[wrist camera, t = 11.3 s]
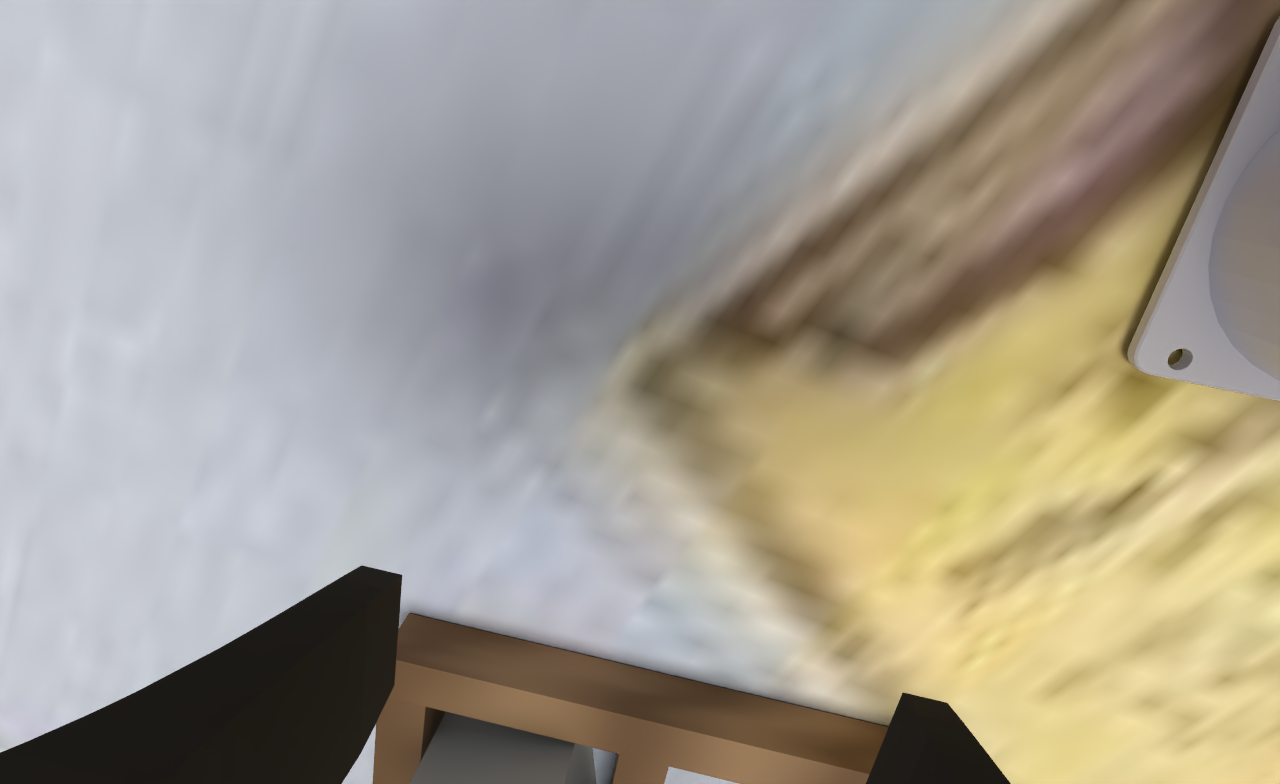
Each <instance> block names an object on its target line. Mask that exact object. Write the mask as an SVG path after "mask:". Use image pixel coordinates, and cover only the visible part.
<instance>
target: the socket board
mask: <svg viewBox="0 0 1280 784" xmlns="http://www.w3.org/2000/svg"><path fill="white" fill-rule="evenodd" d="M445 711H446V712H450V713H454V714H458V715H462V716H466V717H470V718H474V719H479V720H483V721H487V722H491V723H495V724H499V725H503V726H507V727H511V728H515V729H519V730H523V731H528V732H532V733H536V734H540V735H544V736H548V737H552V738H556V739H560V740H564V741H568V742H572V743H576V744H581V745H585V746H589V747H593V748H597V749H601V750H605V751H609V752H613V753H617V758H616V762H615V766H614V771H613V775H612V780H611V784H664V782H665V778H666V774H667V771H668V767H669V766H670V767H674V768H678V769H683V770H687V771H691V772H695V773H699V774H703V775H707V776H711V777H715V778H719V779H723V780H727V781H732V782H736V783H740V784H866V782H867V779H868V777H869V775H870V772H871V770H872V767H873V765H874V762H875V760H876V757H877V755H878V752H879V750H880V747H881V745H882V743H883V740H884V738H885V735H886V733H887V730H888V728H889V727H886V726H881V725H877V724H873V723H869V722H865V721H860V720H856V719H852V718H848V717H843V716H839V715H835V714H831V713H827V712H822V711H818V710H814V709H810V708H806V707H801V706H797V705H793V704H789V703H785V702H780V701H776V700H772V699H768V698H764V697H759V696H755V695H751V694H747V693H743V692H738V691H734V690H730V689H726V688H722V687H717V686H713V685H709V684H705V683H701V682H696V681H692V680H688V679H684V678H679V677H675V676H671V675H667V674H663V673H658V672H654V671H650V670H646V669H642V668H637V667H633V666H629V665H625V664H621V663H616V662H612V661H608V660H604V659H600V658H595V657H591V656H587V655H583V654H579V653H574V652H570V651H566V650H562V649H558V648H553V647H549V646H545V645H541V644H536V643H532V642H528V641H524V640H520V639H515V638H511V637H507V636H503V635H499V634H494V633H490V632H486V631H482V630H478V629H473V628H469V627H465V626H461V625H457V624H452V623H448V622H444V621H440V620H436V619H431V618H427V617H423V616H419V615H415V614H410V613H409V615H408V616H407V618H406V619H405V621H404V622H403V624H402V625H401V627H400V628H399V629H398V641H397V656H396V670H395V685H394V687H393V689H392V691H391V693H390V696H389V698H388V700H387V702H386V704H385V706H384V708H383V710H382V712H381V714H380V716H379V718H378V720H377V722H376V738H375V755H374V772H373V784H410V782H411V780H412V778H413V776H414V774H415V772H416V770H417V768H418V766H419V764H420V762H421V760H422V758H423V756H424V754H425V752H426V750H427V748H428V746H429V744H430V742H431V740H432V738H433V736H434V734H435V732H436V730H437V728H438V727H439V725H440V723H441V721H442V719H443V717H444V715H445Z"/></svg>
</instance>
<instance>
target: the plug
mask: <svg viewBox="0 0 1280 784" xmlns="http://www.w3.org/2000/svg"><path fill="white" fill-rule="evenodd" d="M410 784H596V776H595V767H594V758H593V749H592V747H589V746H585V745H581V744H576V743H572V742H568V741H564V740H560V739H556V738H552V737H548V736H544V735H540V734H536V733H532V732H528V731H523V730H519V729H515V728H511V727H507V726H503V725H499V724H495V723H491V722H487V721H483V720H479V719H474V718H470V717H466V716H462V715H458V714H454V713H450V712H446V713H445V715H444V717H443V719H442V721H441V723H440V725H439V727H438V728H437V730H436V732H435V734H434V736H433V738H432V740H431V742H430V744H429V746H428V748H427V750H426V752H425V754H424V756H423V758H422V760H421V762H420V764H419V766H418V768H417V770H416V772H415V774H414V776H413V778H412V780H411V782H410Z"/></svg>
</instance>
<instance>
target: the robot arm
mask: <svg viewBox="0 0 1280 784" xmlns="http://www.w3.org/2000/svg"><path fill="white" fill-rule="evenodd" d="M1178 349H1182V351H1183V353H1182V357H1181V358H1180V360H1179V361H1178V362H1176V363H1174V364H1172V365H1168V357H1169V356H1170V355H1171V353H1172V352H1174V351H1176V350H1178ZM1127 355H1128V360H1129V362H1130V363H1131V364H1132V366H1133V367H1135V368H1136V369H1138V370H1140V371H1142V372H1144V373H1147V374H1150V375H1155V376H1160V377H1165V378H1169V379H1174V380H1179V381H1184V382H1189V383H1194V384H1199V385H1203V386H1208V387H1213V388H1218V389H1223V390H1228V391H1233V392H1237V393H1242V394H1247V395H1252V396H1257V397H1262V398H1267V399H1271V400H1276V401H1280V17H1279V18H1278V20H1277V21H1276V23H1275V25H1274V27H1273V29H1272V31H1271V33H1270V36H1269V38H1268V40H1267V42H1266V44H1265V47H1264V49H1263V51H1262V53H1261V55H1260V58H1259V60H1258V62H1257V64H1256V67H1255V69H1254V71H1253V73H1252V75H1251V78H1250V80H1249V82H1248V84H1247V86H1246V89H1245V91H1244V93H1243V95H1242V98H1241V100H1240V102H1239V104H1238V106H1237V109H1236V111H1235V113H1234V115H1233V117H1232V120H1231V122H1230V124H1229V126H1228V128H1227V131H1226V133H1225V135H1224V137H1223V140H1222V142H1221V144H1220V146H1219V148H1218V151H1217V153H1216V155H1215V157H1214V159H1213V162H1212V164H1211V166H1210V168H1209V171H1208V173H1207V175H1206V177H1205V179H1204V182H1203V184H1202V186H1201V188H1200V190H1199V193H1198V195H1197V197H1196V199H1195V202H1194V204H1193V206H1192V208H1191V210H1190V213H1189V215H1188V217H1187V219H1186V221H1185V224H1184V226H1183V228H1182V230H1181V232H1180V235H1179V237H1178V239H1177V241H1176V244H1175V246H1174V248H1173V250H1172V252H1171V255H1170V257H1169V259H1168V261H1167V263H1166V266H1165V268H1164V270H1163V272H1162V275H1161V277H1160V279H1159V281H1158V283H1157V286H1156V288H1155V290H1154V292H1153V294H1152V297H1151V299H1150V301H1149V303H1148V306H1147V308H1146V310H1145V312H1144V314H1143V317H1142V319H1141V321H1140V323H1139V325H1138V328H1137V330H1136V332H1135V334H1134V336H1133V339H1132V341H1131V343H1130V345H1129V349H1128V353H1127ZM401 584H402V575H400V574H396V573H391V572H387V571H383V570H379V569H374V568H370V567H366V566H360V567H358V568H357V569H355V570H353V571H351V572H350V573H348V574H346V575H344V576H343V577H341V578H339V579H338V580H336V581H334V582H333V583H331V584H329V585H327V586H326V587H324V588H322V589H321V590H319V591H317V592H316V593H314V594H312V595H311V596H309V597H307V598H306V599H304V600H302V601H300V602H299V603H297V604H295V605H294V606H292V607H290V608H289V609H287V610H285V611H284V612H282V613H280V614H279V615H277V616H275V617H273V618H272V619H270V620H268V621H267V622H265V623H263V624H261V625H260V626H258V627H256V628H254V629H253V630H251V631H249V632H247V633H246V634H244V635H242V636H240V637H239V638H237V639H235V640H233V641H232V642H230V643H228V644H226V645H225V646H223V647H221V648H219V649H217V650H215V651H214V652H212V653H210V654H208V655H206V656H204V657H202V658H200V659H198V660H196V661H194V662H193V663H191V664H189V665H187V666H185V667H183V668H181V669H179V670H177V671H175V672H173V673H172V674H170V675H168V676H166V677H164V678H162V679H160V680H158V681H156V682H154V683H152V684H151V685H149V686H147V687H145V688H143V689H141V690H139V691H137V692H135V693H133V694H131V695H129V696H127V697H125V698H123V699H121V700H119V701H116V702H114V703H112V704H110V705H108V706H106V707H104V708H102V709H99V710H97V711H95V712H93V713H91V714H89V715H87V716H84V717H82V718H80V719H78V720H75V721H73V722H71V723H68V724H66V725H64V726H62V727H59V728H57V729H55V730H53V731H50V732H48V733H46V734H44V735H41V736H39V737H37V738H34V739H32V740H30V741H28V742H25V743H23V744H20V745H18V746H16V747H13V748H11V749H8V750H6V751H3V752H1V753H0V784H342V782H343V780H344V779H345V777H346V776H347V774H348V773H349V771H350V769H351V768H352V766H353V765H354V763H355V761H356V760H357V758H358V757H359V755H360V754H361V752H362V750H363V748H364V746H365V744H366V742H367V740H368V738H369V736H370V734H371V732H372V730H373V728H374V726H375V724H376V722H377V720H378V718H379V716H380V714H381V712H382V710H383V708H384V706H385V704H386V702H387V700H388V698H389V696H390V693H391V691H392V689H393V687H394V685H395V670H396V656H397V641H398V627H399V613H400V598H401ZM866 784H1011V783H1010V782H1009V781H1008V780H1007V778H1006V777H1005V776H1004V774H1003V773H1002V772H1001V771H1000V769H999V768H998V767H997V765H996V764H995V763H994V762H993V760H992V759H991V758H990V756H989V755H988V754H987V752H986V751H985V750H984V749H983V747H982V746H981V745H980V743H979V742H978V741H977V740H976V738H975V737H974V736H973V734H972V733H971V732H970V731H969V729H968V728H967V727H966V725H965V724H964V723H963V722H962V720H961V719H960V718H959V717H958V715H957V714H956V713H955V712H954V711H953V709H952V708H951V707H950V706H949V705H948V703H945V702H941V701H937V700H932V699H928V698H924V697H920V696H915V695H911V694H907V693H902V696H901V698H900V701H899V703H898V706H897V708H896V710H895V713H894V715H893V718H892V720H891V723H890V725H889V728H888V730H887V733H886V735H885V738H884V740H883V743H882V745H881V747H880V750H879V752H878V755H877V757H876V760H875V762H874V765H873V767H872V770H871V772H870V775H869V777H868V779H867V782H866Z"/></svg>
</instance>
